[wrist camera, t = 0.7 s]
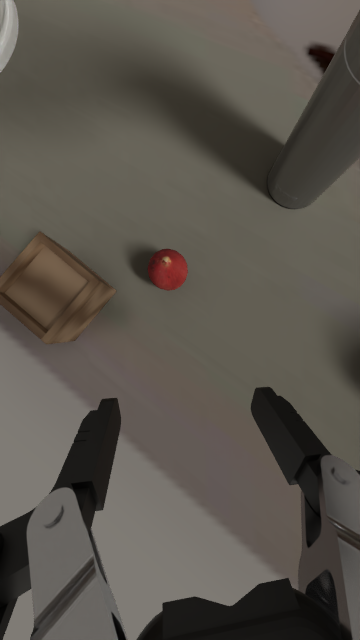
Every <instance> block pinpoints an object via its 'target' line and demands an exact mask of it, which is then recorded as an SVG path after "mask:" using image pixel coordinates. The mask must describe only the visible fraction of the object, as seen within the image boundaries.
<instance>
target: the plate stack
mask: <svg viewBox="0 0 360 640" xmlns="http://www.w3.org/2000/svg"><path fill="white" fill-rule="evenodd" d="M17 36H18V14H17V9H16V6H15V3H14V0H0V72H1V71H2V70H3V69H4V67H5V66H6V64H7V63H8V61H9V59H10V57H11V55H12V53H13V51H14V48H15V45H16V41H17Z"/></svg>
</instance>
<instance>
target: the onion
mask: <svg viewBox="0 0 360 640" xmlns="http://www.w3.org/2000/svg"><path fill="white" fill-rule="evenodd" d="M148 273H149V278H150V279H151V281H152V282H153V284H154V285H156V286H157V287H159V288H160V289H164V290H175V289H177V288H178V287H180V286H181V285H182V284H183V283H184V281H185V280H186V276H187V273H188V270H187V263H186V261H185V259H184V257H183V256H182V255H181V254H180V253H178V252H177V251H175V250H171V249H162V250H160V251H158V252H156V253H155V254H154V255H153V256H152V258H151V259H150V262H149V265H148Z"/></svg>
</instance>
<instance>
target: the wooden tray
mask: <svg viewBox="0 0 360 640" xmlns="http://www.w3.org/2000/svg"><path fill="white" fill-rule="evenodd" d="M115 292H116V290H115V289H114V288H113V287H111V286H110V285H109V284H108V283H107V282H106V281H104V280H103V279H102V278H101V277H100V276H98V275H97V274H96V273H95V272H94V271H92V270H91V269H90V268H89V267H88V266H86V265H85V264H84V263H83V262H82V261H80V260H79V259H78V258H77V257H76V256H74V255H73V254H72V253H71V252H70V251H68V250H67V249H65V248H64V247H62V246H61V245H59V244H58V243H56V242H55V241H53V240H52V239H50V238H49V237H47V236H46V235H44V234H43V233H41V232H39V233H38V234H37V235H36V236H35V238H34V239H33V240H32V241H31V242H30V243H29V244H28V246H27V247H26V248H25V249H24V250H23V251H22V253H21V254H20V255H19V256H18V257H17V258H16V260H15V261H14V262H13V263H12V264H11V265H10V266H9V268H8V269H7V270H6V271H5V272H4V273H3V275H2V276H1V277H0V304H1V305H2V306H3V307H4V308H5V309H6V310H8V311H9V312H10V313H11V314H12V315H13V316H15V317H16V318H17V319H18V320H19V321H20V322H21V323H23V324H24V325H25V326H26V327H27V328H28V329H29V330H31V331H32V332H33V333H34V334H35V335H36V336H37V337H39V338H40V339H41V340H42V341H43V342H44V343H46V344H53V343H61V342H69V341H75V340H76V339H77V337H78V336H79V335H80V334H81V333H82V331H83V330H84V329H85V328H86V327H87V326H88V324H89V323H90V322H91V321H92V320H93V318H94V317H95V316H96V315H97V314H98V312H99V311H100V310H101V309H102V308H103V307H104V305H105V304H106V303H107V302H108V301H109V299H110V298H111V297H112V296H113V295H114V294H115Z"/></svg>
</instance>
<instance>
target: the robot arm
mask: <svg viewBox="0 0 360 640" xmlns="http://www.w3.org/2000/svg"><path fill="white" fill-rule="evenodd" d="M359 158H360V10H359V12H358V14H357V16H356V18H355V19H354V21H353V23H352V25H351V27H350V29H349V31H348V32H347V34H346V36H345V38H344V39H343V41H342V43H341V45H340V47H339V48H338V50H337V52H336V54H335V55H334V57H333V59H332V61H331V63H330V64H329V66H328V68H327V70H326V72H325V73H324V75H323V77H322V79H321V81H320V82H319V84H318V86H317V88H316V90H315V91H314V93H313V95H312V97H311V99H310V100H309V102H308V104H307V106H306V107H305V109H304V111H303V113H302V115H301V116H300V118H299V120H298V122H297V124H296V125H295V127H294V129H293V131H292V133H291V134H290V136H289V138H288V140H287V142H286V143H285V145H284V147H283V149H282V150H281V152H280V154H279V156H278V158H277V159H276V161H275V163H274V165H273V167H272V169H271V170H270V172H269V175H268V181H267V185H268V190H269V192H270V195H271V196H272V197H273V199H274V200H275V201H276V202H277V203H279V204H280V205H282V206H284V207H287V208H292V209H298V208H303V207H306V206H308V205H310V204H311V203H312V202H314V201H315V200H316V199H317V198H318V197H319V196H320V195H321V194H322V193H323V192H324V191H325V190H326V189H327V188H328V187H329V186H330V185H332V184H333V183H334V182H335V181H336V180H337V179H338V178H339V177H340V176H341V175H342V174H343V173H344V172H345V171H346V170H347V169H348V168H349V167H350V166H351V165H352V164H354V163H355V162H356V161H357V160H358V159H359ZM251 412H252V415H253V417H254V419H255V421H256V423H257V425H258V427H259V429H260V431H261V433H262V434H263V436H264V438H265V440H266V442H267V444H268V446H269V448H270V450H271V451H272V453H273V455H274V457H275V459H276V461H277V463H278V465H279V467H280V468H281V470H282V472H283V474H284V476H285V478H286V480H287V482H288V483H289V485H295V484H299V486H300V488H301V490H302V491H301V523H302V552H301V557H300V561H299V569H298V590H296V589H294V588H292V586H291V584H290V581H289V578H286V579H281V580H276V581H271V582H266V583H261V584H259V585H257V586H256V587H255V588H254V589H252V590H251V591H250V592H249V593H248V594H246V595H245V596H244V597H243V598H241V600H239V601H238V602H237V603H235V604H234V605H233V606H226V605H223V604H219V603H216V602H212V601H209V600H206V599H202V598H198V597H191V598H185V599H180V600H175V601H170V602H165V603H163V611H162V612H160V613H159V614H158V615H156V616H155V617H154V618H153V619H152V620H151V621H150V622H149V624H148V625H147V626H146V627H145V628H144V630H143V631H142V632H141V634H140V635H139V637H138V638H137V640H360V471H358V470H355V469H354V468H353V467H352V466H350V465H349V464H348V463H347V462H345V461H344V460H342V459H340V458H338V457H336V456H332V455H331V454H330V452H329V451H328V450H327V449H326V448H325V446H324V445H323V444H322V443H321V441H320V440H319V439H318V438H317V436H316V435H315V434H314V433H313V431H312V430H311V429H310V428H309V426H308V425H307V424H306V423H305V421H303V419H302V418H301V416H300V415H299V414H297V411H296V410H295V409H294V408H293V406H292V405H291V404H290V403H289V402H288V401H287V400H285V399H284V398H283V397H281V396H277V395H276V393H275V392H274V391H273V389H272V388H270V387H260V388H256V389H255V392H254V395H253V399H252V403H251ZM120 426H121V415H120V409H119V404H118V399H117V398H108V399H102V400H101V402H100V405H99V407H98V410H93V411H90V412H89V413H88V415H87V416H86V417H85V418H84V419H83V421H82V423H81V426H80V428H79V430H78V434H77V435H76V437H75V439H74V443H73V444H72V446H71V449H70V451H69V453H68V456H67V458H66V460H65V463H64V465H63V467H62V470H61V472H60V474H59V477H58V479H57V481H56V484H55V485H54V487H53V489H52V490H51V492H50V493H49V495H47V496H46V497H45V498H44V499H43V500H42V501H41V502H40V503H39V505H38V506H37V507H36V508H34V509H33V510H32V511H30V512H28V513H26V514H25V515H23V516H20V517H19V518H17V519H14V520H12V521H10V522H8V523H6V524H4V525H2V526H0V640H3V636H4V634H5V631H6V629H7V626H8V623H9V620H10V618H11V615H12V612H13V609H14V607H15V604H16V601H17V598H18V597H19V596H20V595H21V594H23V593H25V592H26V591H28V590H30V589H32V600H33V610H34V629H33V632H32V634H31V638H30V640H128V639H127V636H126V632H125V629H124V626H123V623H122V620H121V617H120V614H119V611H118V608H117V605H116V602H115V599H114V596H113V593H112V591H111V588H110V585H109V582H108V579H107V576H106V573H105V570H104V567H103V564H102V561H101V558H100V554H99V551H98V548H97V545H96V542H95V538H94V536H93V532H92V529H91V526H92V522H93V518H94V514H95V511H99V510H103V508H104V503H105V498H106V493H107V489H108V484H109V479H110V474H111V470H112V465H113V460H114V455H115V451H116V445H117V441H118V436H119V432H120Z"/></svg>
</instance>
